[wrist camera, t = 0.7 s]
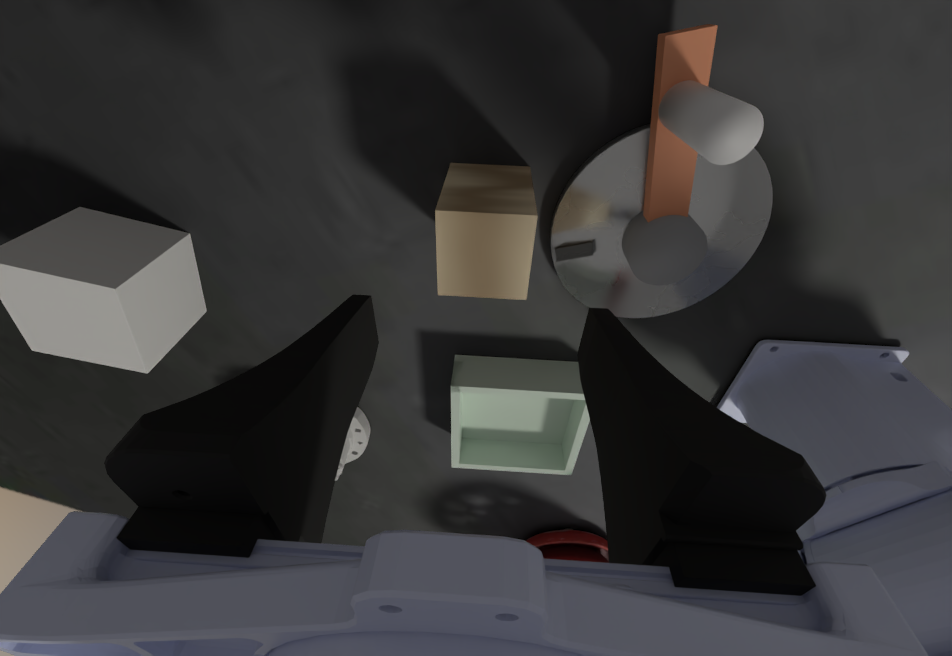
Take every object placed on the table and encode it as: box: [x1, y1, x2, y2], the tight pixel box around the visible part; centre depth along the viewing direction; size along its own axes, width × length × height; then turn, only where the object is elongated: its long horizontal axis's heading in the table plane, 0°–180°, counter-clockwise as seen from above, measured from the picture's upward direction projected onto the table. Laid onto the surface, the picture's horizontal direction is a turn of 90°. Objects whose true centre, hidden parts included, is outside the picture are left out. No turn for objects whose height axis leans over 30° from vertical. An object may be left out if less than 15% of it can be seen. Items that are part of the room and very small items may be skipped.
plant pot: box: [526, 528, 609, 563], centre depth 43 cm, size 13×13×12 cm
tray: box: [451, 355, 590, 475], centre depth 30 cm, size 10×10×3 cm
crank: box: [622, 24, 764, 285], centre depth 17 cm, size 11×4×6 cm, turn 10°
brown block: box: [435, 163, 538, 300], centre depth 19 cm, size 4×4×6 cm
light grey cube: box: [0, 207, 206, 373], centre depth 23 cm, size 6×6×6 cm
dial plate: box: [550, 123, 773, 318], centre depth 22 cm, size 11×11×1 cm
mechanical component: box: [335, 407, 371, 481], centre depth 33 cm, size 10×4×10 cm
